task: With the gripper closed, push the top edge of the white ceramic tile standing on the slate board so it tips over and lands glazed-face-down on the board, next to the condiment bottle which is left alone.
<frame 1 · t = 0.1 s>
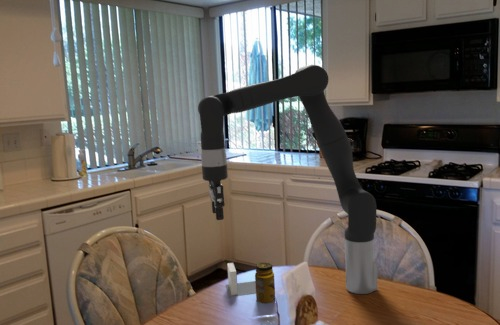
hand: (217, 216, 141), 29 cm above the table, tool pointing down, fingers open, 8 cm apart
condiment: (263, 302, 147), on the table
tile: (233, 289, 155), point 1 cm above the table, touching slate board
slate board: (246, 289, 156), on the table
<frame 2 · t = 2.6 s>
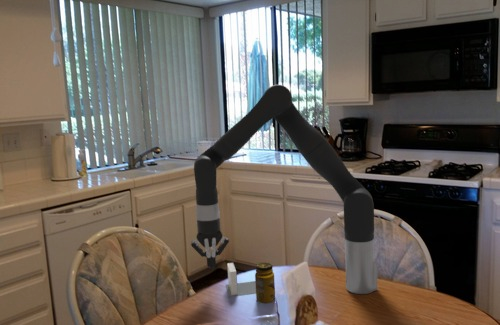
hand: (211, 267, 153), 9 cm above the table, tool pointing down, fingers closed
nothing on the table moved.
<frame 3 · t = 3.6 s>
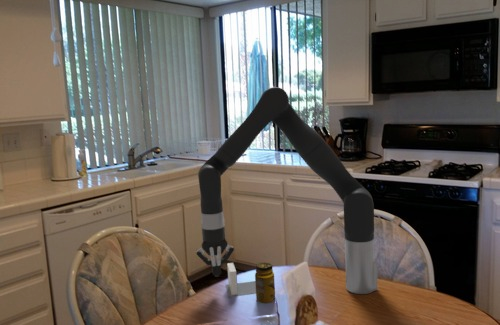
hand: (216, 275, 154), 6 cm above the table, tool pointing down, fingers closed
nothing on the table moved.
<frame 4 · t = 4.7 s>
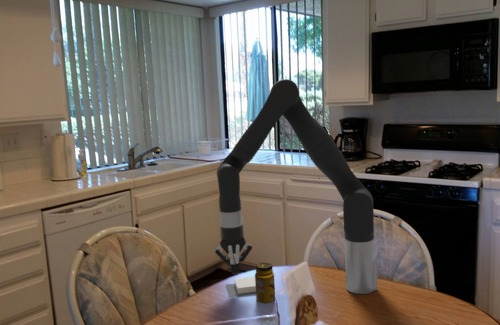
hand: (235, 273, 155), 6 cm above the table, tool pointing down, fingers closed
tile: (236, 286, 155), point 2 cm above the table, tilted 90°, touching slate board
everything else where it was.
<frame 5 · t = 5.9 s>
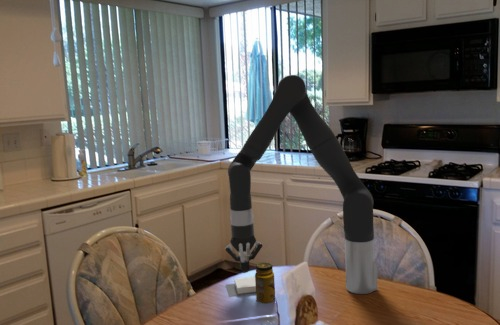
hand: (245, 271, 155), 6 cm above the table, tool pointing down, fingers closed
nothing on the table moved.
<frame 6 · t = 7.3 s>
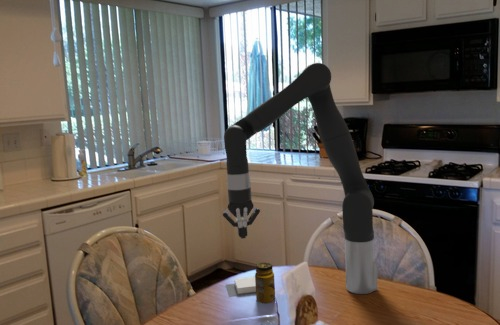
hand: (242, 237, 153), 18 cm above the table, tool pointing down, fingers closed
nothing on the table moved.
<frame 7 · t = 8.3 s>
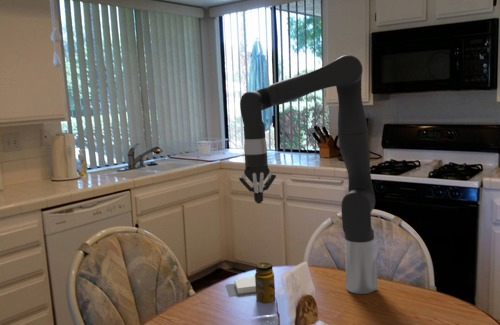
hand: (258, 202, 156), 29 cm above the table, tool pointing down, fingers closed
nothing on the table moved.
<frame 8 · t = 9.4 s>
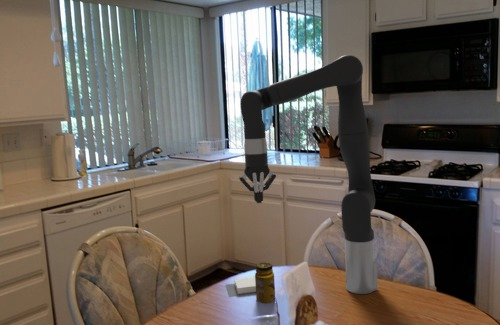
hand: (258, 202, 156), 29 cm above the table, tool pointing down, fingers closed
nothing on the table moved.
at the end: tile tilted 90°; tile inside the target area (3.4 cm from its centre), point 1.7 cm above the table; tile touching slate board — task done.
